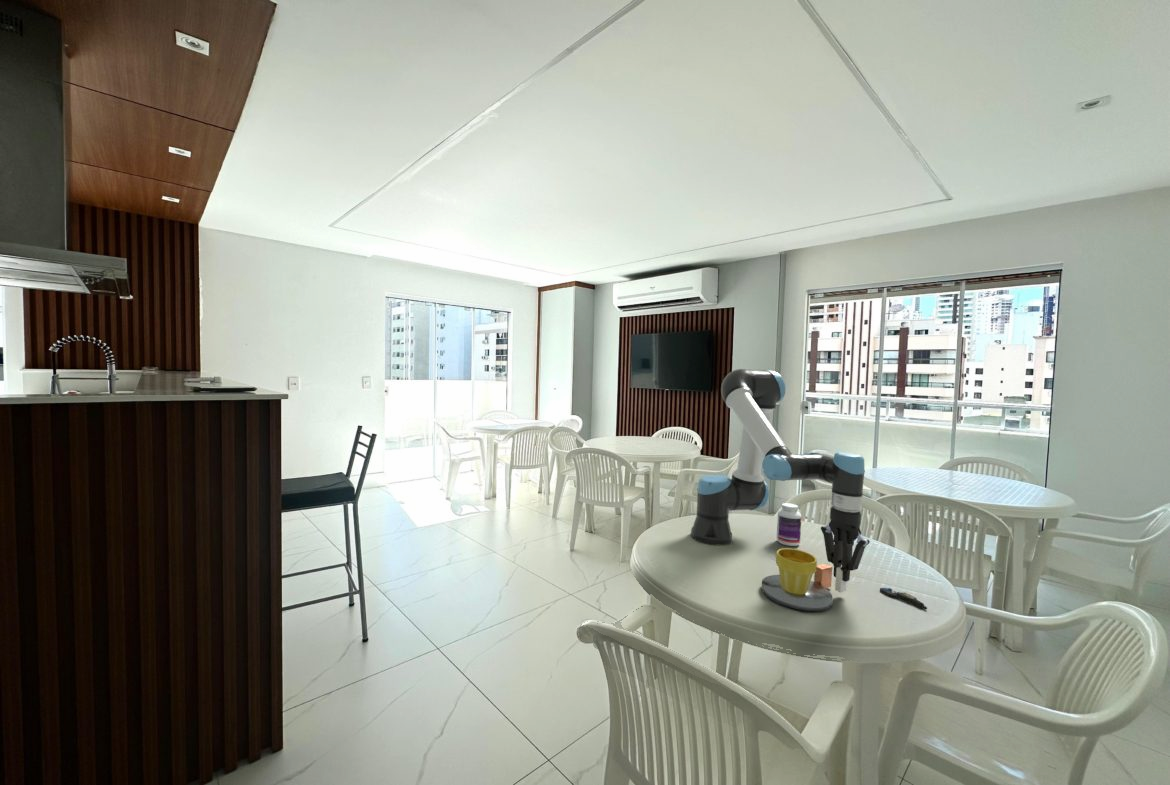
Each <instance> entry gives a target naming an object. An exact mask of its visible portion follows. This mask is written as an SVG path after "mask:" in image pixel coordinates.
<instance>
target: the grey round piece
mask: <svg viewBox="0 0 1170 785" xmlns="http://www.w3.org/2000/svg"><path fill="white" fill-rule="evenodd" d="M813 575H814V576H813V580H811V581H810V584H809V587H808V590H807V593H806V594H802V595H798V594H793V593H789V592H787V591H785V590H784V589H783V588H782V587H781V581H780V574H771V575H768V576H765V577H763V579H762V581H761V591H762V593H763V594H764V595H765V596H766V597H767V598H769V599H771V601H774V602H776V603H777V604H780V605H782V606H785V607H788V608H792V609H794V610H799V611H800V610H801V611H807V612H821V611H826V610H828V609H830V608H832V606H833V594H832V593H831V592H830V590H828V589H829V588H831V587H832V582H833V581H832V579H833V578H832V577H833V576H832V575H833V566H832V565H828V564H826V563H821V564H817V567H816V572H815V573H814V574H813Z"/></svg>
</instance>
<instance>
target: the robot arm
mask: <svg viewBox="0 0 1170 785" xmlns="http://www.w3.org/2000/svg"><path fill="white" fill-rule="evenodd" d="M720 393H721V398H722V400H723V402H724V404H725V405H726V407H727V408H729V409H731V410H732V411H733V412H734V413H735V415H736V417H737V419H738V420H739V421H740V423H741V424H742V433H741V442H740V448H739V454H738V461H737V469H735V470H733V471H732V475H731V478H730V476H728V475H725V474H709V475H705V476H702V477H701V478H700V479H699V480H698V485H697V489H696V490H697V495H696V496H697V499H696V502H697V504H696V516H695V519H694V522H693V525H692V527H691V529H690V537H691V538H692V539H693V540H695V541H697V542H699V543H701V544H705V545H711V546H727V545H730V544H731V543H732V542H733V533H732V529H731V525H730V524H731V523H730V521H729V516H730V515H729V513H730V511H754V510H760V509H761V508H764V507H765V506H766V505H767V504H768V500H769V497H770V490H769V485H768V483H767V482H766V481H765V477H766V478H767V479H768V480H771V481H781V482H785V481H800V480H801V481H809V480H810V481H813V480H814V481H815V480H818V481H824V482H827V483H829V484H831V495H830V496H831V499H830V505H831V507H830V513H829V519H830V521H829V523H828V524H827V525H824V526H820V531H821V532H822V534H823V540H824V547H825V554H826V560H827V562H829V563H832V565H833V572H832V575H833V578H835V584H834V591H835V592H838V593H843V592H846V591H847V582H849V581H850V577H851V572H852V571H856V570H858V569H859V565H860V564H861V560H862V557H863V555H864V552H865V549H866V547H867V546H868V545H869V544H870V539H868V538H865V537H864V536H863V535H862V531H861V528H860V527H861V523H862V512H861V510H862V509H863V496H864V495H863V490H864V489H863V488H864V479H865V472H866V471H865V458H864V457H863V456H862V455H861V454H857V453H852V452H841V451H840V452H836V453H834V455H833V456H831V455H827V454H823V453H820V452H812V451H808V452H806V453H804V454H793V453H792V452H791V450H790V449H789V448H788V446H787V445H786V444H785V442H784V441H783V439H782V438H781V436H780V435H779V433H778V432H777V431H776V429H775V428H774V426H773V425H772V424H771V422H770V417H771V416H770V415H771V412H773V411H774V410H776V406H777V403H779V402H781V401H782V400H783V399H784V397H785V395H786V383H785V380H784V378H783V377H782V375H781V374H780V373H779V372H776V371H775V370H767V369H745V368H739V369H734V370H733V371H730V372H729V373H727V375H726V376H725V377H724V378H723V380H722V382H721V387H720ZM762 470H763V471H762ZM762 472H763V474H764V475H765V477H764V475H763V474H762ZM855 541H856V545H855ZM853 546H855V547H853ZM853 548H854V550H853Z"/></svg>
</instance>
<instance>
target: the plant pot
mask: <svg viewBox="0 0 1170 785" xmlns="http://www.w3.org/2000/svg"><path fill="white" fill-rule="evenodd" d="M775 553H776V554H775V563H776V566H778V572H779V574H778V575H780V581H781V587H782V588H783V589H784V590H785V591H787V592H789V593H793V594H798V595H802V594H806V593H807V590H808V587H809V584H810V581H812V578H813V575H814V573H815V572H816V567H817V565H818V559H817V557H816V556H815V555H813V554H811V553H810V552H807V551H804V550H801V549H796V548H789V547H783V548H779V549H778V550H776V552H775Z"/></svg>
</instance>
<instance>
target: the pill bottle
mask: <svg viewBox="0 0 1170 785" xmlns="http://www.w3.org/2000/svg"><path fill="white" fill-rule="evenodd" d="M776 523H777V526H776V541H777V542H778V543H779V544H782V545H783V546H789V547H797V546H799V545H800V544H801V532H802V530H801V529H802V514H801V512H799V506H798V505H797V504H795V503H789V502H787V503H786V502H785V503H782V504H781V509H779V510H778V513H777V522H776Z"/></svg>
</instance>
